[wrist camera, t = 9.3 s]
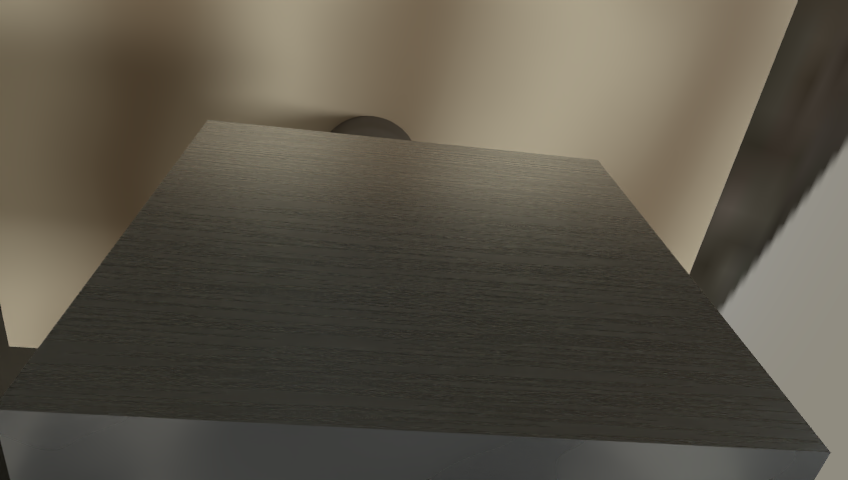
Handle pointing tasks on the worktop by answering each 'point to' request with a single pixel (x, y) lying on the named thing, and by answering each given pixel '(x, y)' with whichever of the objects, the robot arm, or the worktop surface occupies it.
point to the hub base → (357, 103)
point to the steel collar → (393, 330)
